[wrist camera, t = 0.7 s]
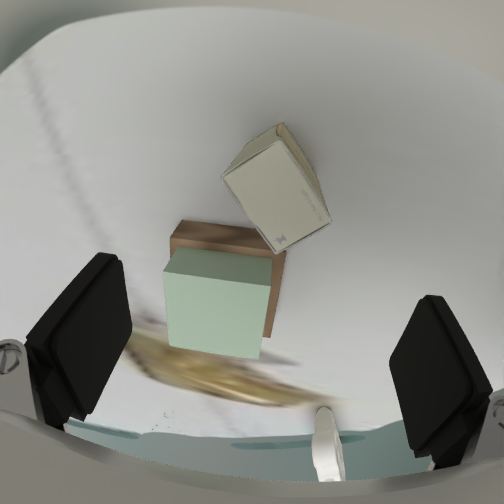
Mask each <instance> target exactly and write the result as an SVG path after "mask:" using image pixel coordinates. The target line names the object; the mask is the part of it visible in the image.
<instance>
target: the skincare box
mask: <svg viewBox="0 0 504 504" xmlns="http://www.w3.org/2000/svg"><path fill="white" fill-rule="evenodd" d="M221 180H222V182H223V183H224V185H225V186H226V188H227V189H228V191H229V192H230V193H231V195H232V196H233V198H234V199H235V200H236V202H237V203H238V205H239V206H240V208H241V209H242V210H243V212H244V213H245V215H246V216H247V217H248V219H249V220H250V221H251V223H252V224H253V225H254V227H255V228H256V229H257V231H258V232H259V233H260V235H261V236H262V237H263V239H264V240H265V241H266V243H267V244H268V245H269V247H270V248H271V249H272V251H273V252H274V253H275V254H278V253H280V252H282V251H284V250H286V249H288V248H290V247H291V246H293V245H295V244H297V243H299V242H301V241H303V240H304V239H306V238H308V237H310V236H312V235H313V234H315V233H317V232H319V231H320V230H322V229H324V228H325V227H327V226H329V225H330V224H331V223H332V220H331V218H330V215H329V212H328V209H327V206H326V203H325V200H324V197H323V194H322V191H321V188H320V185H319V182H318V179H317V175H316V173H315V172H314V170H313V168H312V166H311V165H310V163H309V161H308V160H307V158H306V156H305V155H304V153H303V152H302V150H301V148H300V147H299V145H298V144H297V142H296V141H295V139H294V138H293V136H292V135H291V133H290V132H289V130H288V129H287V127H286V126H285V124H284V123H283V122H282V123H280V124H278V125H277V126H275V127H273V128H271V129H270V130H268V131H266V132H265V133H263V134H262V135H260V136H258V137H257V138H255V139H254V140H252V141H251V142H249V143H248V144H247V145H246V146H245V147H244V148H243V150H242V151H241V152H240V153H239V155H238V156H237V157H236V158H235V160H234V161H233V162H232V163H231V165H230V166H229V167H228V168H227V170H226V171H225V172H224V173H223V174H222V176H221Z"/></svg>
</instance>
